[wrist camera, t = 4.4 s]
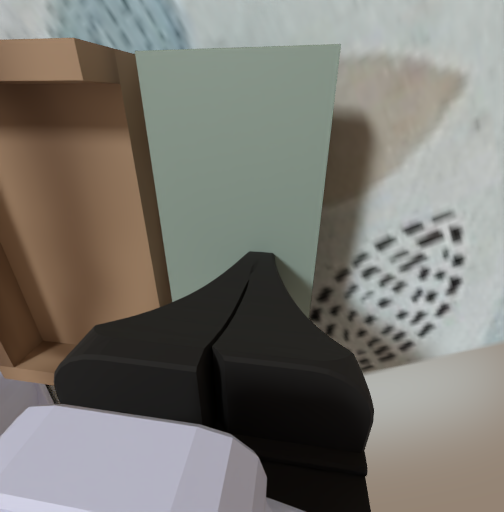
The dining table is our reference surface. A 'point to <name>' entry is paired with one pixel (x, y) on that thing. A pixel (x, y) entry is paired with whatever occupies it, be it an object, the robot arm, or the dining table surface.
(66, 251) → the crate
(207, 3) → the dining table surface
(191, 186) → the panel
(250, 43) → the dining table surface
